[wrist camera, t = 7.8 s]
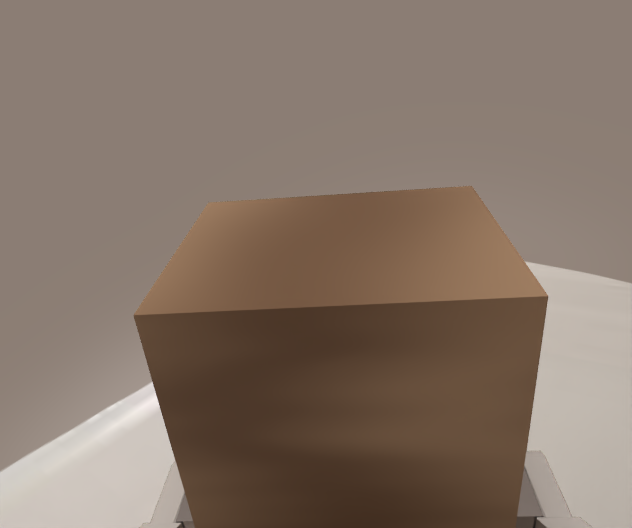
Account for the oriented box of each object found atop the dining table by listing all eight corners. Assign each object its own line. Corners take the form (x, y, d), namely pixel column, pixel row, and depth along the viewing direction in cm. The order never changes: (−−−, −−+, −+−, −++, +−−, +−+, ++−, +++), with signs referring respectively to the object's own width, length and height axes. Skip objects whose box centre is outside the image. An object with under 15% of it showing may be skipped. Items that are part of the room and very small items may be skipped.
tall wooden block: (444, 599, 16) (464, 176, 10) (477, 798, 12) (547, 295, 6) (288, 599, 17) (215, 192, 10) (271, 791, 13) (133, 315, 6)
